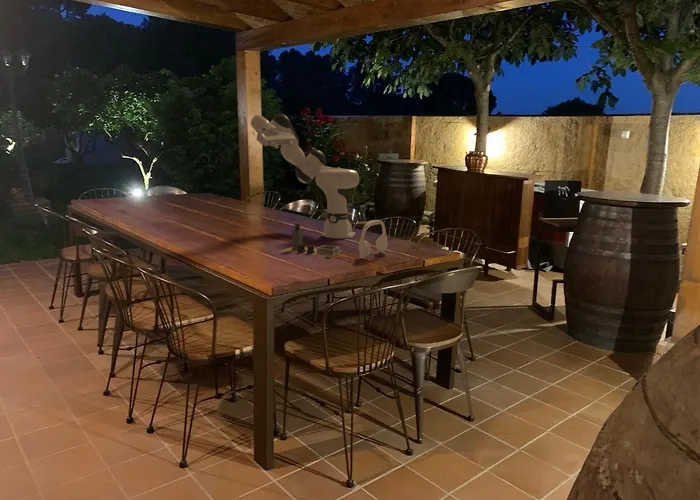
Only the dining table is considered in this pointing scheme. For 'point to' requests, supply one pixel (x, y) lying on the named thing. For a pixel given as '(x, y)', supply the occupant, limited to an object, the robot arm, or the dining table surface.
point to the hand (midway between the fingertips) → (284, 146)
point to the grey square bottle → (297, 237)
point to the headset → (380, 242)
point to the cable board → (316, 250)
